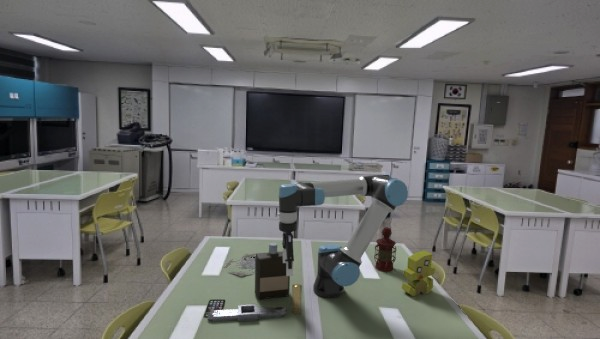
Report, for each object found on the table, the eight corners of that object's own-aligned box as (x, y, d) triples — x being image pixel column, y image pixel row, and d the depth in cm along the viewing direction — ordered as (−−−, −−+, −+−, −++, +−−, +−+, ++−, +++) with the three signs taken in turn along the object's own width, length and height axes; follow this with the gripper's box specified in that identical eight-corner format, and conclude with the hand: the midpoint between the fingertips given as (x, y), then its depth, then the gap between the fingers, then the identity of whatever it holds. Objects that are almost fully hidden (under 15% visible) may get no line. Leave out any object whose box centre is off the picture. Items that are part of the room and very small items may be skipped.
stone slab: (286, 263, 214) (286, 261, 214) (238, 279, 191) (238, 277, 191) (258, 251, 233) (258, 249, 233) (212, 264, 210) (212, 262, 210)
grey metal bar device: (285, 308, 162) (285, 302, 162) (287, 318, 155) (287, 311, 154) (208, 313, 157) (208, 306, 156) (207, 323, 149) (207, 316, 148)
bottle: (254, 292, 177) (254, 242, 173) (286, 289, 181) (287, 240, 178) (256, 300, 169) (257, 248, 166) (290, 296, 174) (291, 245, 170)
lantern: (386, 274, 203) (390, 221, 199) (369, 267, 212) (372, 216, 208) (399, 269, 211) (403, 218, 207) (381, 262, 220) (385, 213, 216)
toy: (409, 297, 177) (412, 257, 174) (401, 292, 182) (403, 253, 179) (433, 292, 183) (437, 253, 181) (425, 287, 188) (428, 249, 186)
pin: (300, 309, 162) (300, 283, 161) (301, 313, 159) (302, 287, 157) (291, 309, 162) (291, 283, 160) (292, 314, 158) (293, 288, 156)
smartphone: (203, 317, 153) (209, 299, 168) (203, 318, 153) (209, 300, 168) (221, 316, 154) (225, 299, 169) (221, 318, 154) (225, 300, 169)
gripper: (276, 213, 166) (276, 258, 169) (282, 230, 142) (281, 282, 145) (292, 213, 167) (292, 257, 170) (301, 229, 143) (300, 281, 146)
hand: (287, 268), depth 158 cm, fingers open, 13 cm apart
